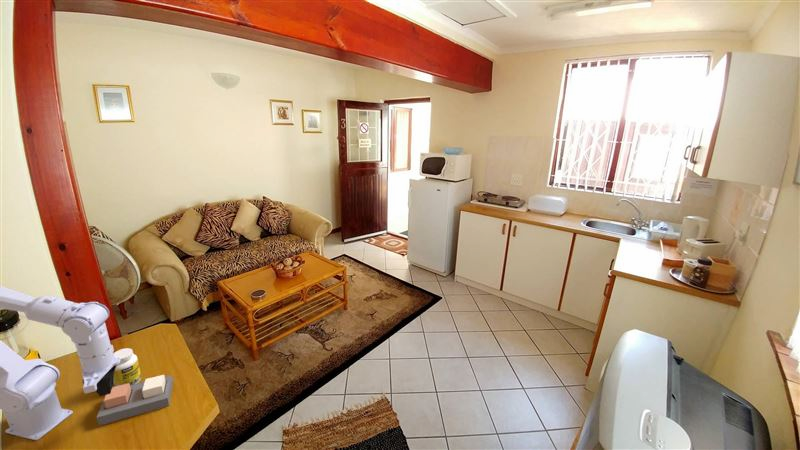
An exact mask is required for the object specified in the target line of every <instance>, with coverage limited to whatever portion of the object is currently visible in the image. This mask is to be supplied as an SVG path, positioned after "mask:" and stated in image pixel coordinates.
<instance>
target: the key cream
mask: <svg viewBox="0 0 800 450" xmlns="http://www.w3.org/2000/svg"><path fill="white" fill-rule="evenodd" d="M144 380H145V381H144V382H145V383H144V386H143V390H142V392H143V397H144V399H146V398H150V397H154V396H157V395H161V394H164V389H165V384H166V381H165V374H161V375H157V376H152V377H148V378H145V379H144Z"/></svg>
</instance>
